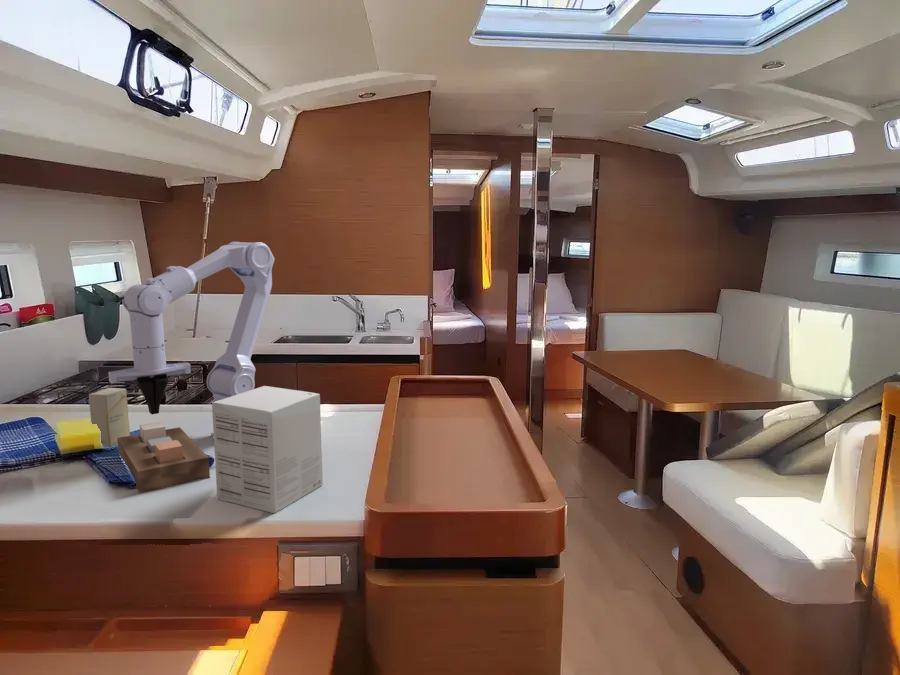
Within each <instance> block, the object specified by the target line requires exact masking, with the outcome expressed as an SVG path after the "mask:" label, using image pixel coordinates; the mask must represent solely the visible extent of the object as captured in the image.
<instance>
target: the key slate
mask: <svg viewBox="0 0 900 675" xmlns="http://www.w3.org/2000/svg"><path fill="white" fill-rule="evenodd" d="M169 441H173V440H172V439H171V438H170V437H169V436H168V437H162V438H157V439H151V440H147V445H148V451H149V452H150V453H154V452H155V446H154V444H158V443H163V442H169Z"/></svg>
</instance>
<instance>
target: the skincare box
mask: <svg viewBox="0 0 900 675" xmlns="http://www.w3.org/2000/svg"><path fill="white" fill-rule="evenodd" d="M88 401H89V403H88V404H89V411H90V412H89V415H90V423H92V424H97V426H98V428H99V429H100V431H101V443H102V444H103V446H107V447H111V446H114V445H116V444H118V442H117V438H120V437H126V436H131V431H130V420H129V419H130V418H129V410H128V409H129V407H128V397H127V388H121V387H120V388H119V387H118V388H117V387H107V388H105V389H104V388H103V389H101V390H98V391H96V392H93V393H88Z"/></svg>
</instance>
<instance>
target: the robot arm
mask: <svg viewBox="0 0 900 675" xmlns="http://www.w3.org/2000/svg"><path fill="white" fill-rule="evenodd" d="M274 264H275V257H274V254H273V253H272V251H271V249H270V247H269V246H268V245H267V244H266V243H265V242H260V241H258V242H240V241H232V242H230V243H228V244H225V245H221V246H220V247H219V248H218V249H217V250H214V251H213V252H212V253H210V254H208V255H206V256H205V257H203V258H201V259H200V260H197V261H196V262H194V263H193V264H191V265H189V266H187V268H186V267H183V266H181V265H178V266H176V265H169V266H167V267H166V268H165V269H166V272H163V273H161V274H159V275H156V276H155V277H148V278H147V279H145V283H144V284H134V285H131V286H130V287H129V288H128V289H127V290H126V292H125V294H124V297H123V299H121V303H122V305H123V308H124V309H125V310H126V311H127V312H128V314H129V320H130V332H131V334H130V335H131V345H132V356H133V367H131V368H124V369H119V370H113V371H108V373H107V374H108V381H109V382H108V383H110V384H117V383H119V382H120V383H121V382H127V381H128V382H129V381H135V383H136V385H137V386H138V388H139V390H140V391H141V393H142V395H143V397H144V400H145V402H146V404H147V408H148V411H149V414H150V415H157V414H160V407H161V403H162V397H163V395H164V392H165V390H166V387H167V386H168V383H169V378H168V377H169V376H174V375H181V374H183V375H186V374H187V375H188V374H191V373H192V371H191V370H192V369H191V368H192V367H191V364H190V363H189V362H183V363H182V362H180V363H179V362H178V363H167V358H166V345H165V344H166V343H165V342H166V341H165V331H164V319H163V314H164V312H165V311H166V310H167V308H168V306H169V305H170V304H171V303H173V302H176V301H177V300H179V299H180V298H182V297H184V296H186V295H188V294H190V293H192V292H194V290H195V287H196V284H197V282H199V281H201V280H203V279H206V278H208V277H210V276H212V275H215V273H217V272H218V273H219V272H220V271H222V270H225V269H226V268H229V269H230V270H231V271H232V272H233V273H234V274H235V275H236V276H237V277H239V280H241V282H242V283H243V286H244V291H243V294H242V298H241V301H240V304H239V308H238V311H237V314H236V317H235V320H234V324H233V327H232V329H231V330H232V331H231V333H230V336H229V340H228V343H227V347H226V350H225V353H224V354H222V355H221V356H220V357H218V358H217V359H216V361H215V364H214V366H213V368H212V369H210V371H209V373H208V375H207V377H206V387H207V388H208V390H209V392H211V393H212V398H213V399H214V401H213V402H215V401H218V400H222V399H225V398H228V397H231V396H234V395H238V394H241V393H244V392H247V391H250V390H253V389H255V387H256V385H255V373H256V367H255V365H254V363H253V362H252V360H251V358H252V355H253V352H254V348H255V344H256V342H257V338H258V336H259V335H258V334H259V331H260V328H261V324H262V321H263V318H264V314H265V311H266V307H267V304H268V300H269V297H270V294H271V291H272V287H273V273H272V269H273V266H274ZM210 435H211V437H213V438H214V431H212V432H210Z"/></svg>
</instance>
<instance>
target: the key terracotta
mask: <svg viewBox="0 0 900 675" xmlns="http://www.w3.org/2000/svg"><path fill="white" fill-rule="evenodd" d="M154 446H155V459H156V462H157V464H163V463H168V462H173V461H178V460H183V447H182V445H181V444H180V443H179V441H178V440H174V441H169V442H163V443H158V444H154Z"/></svg>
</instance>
